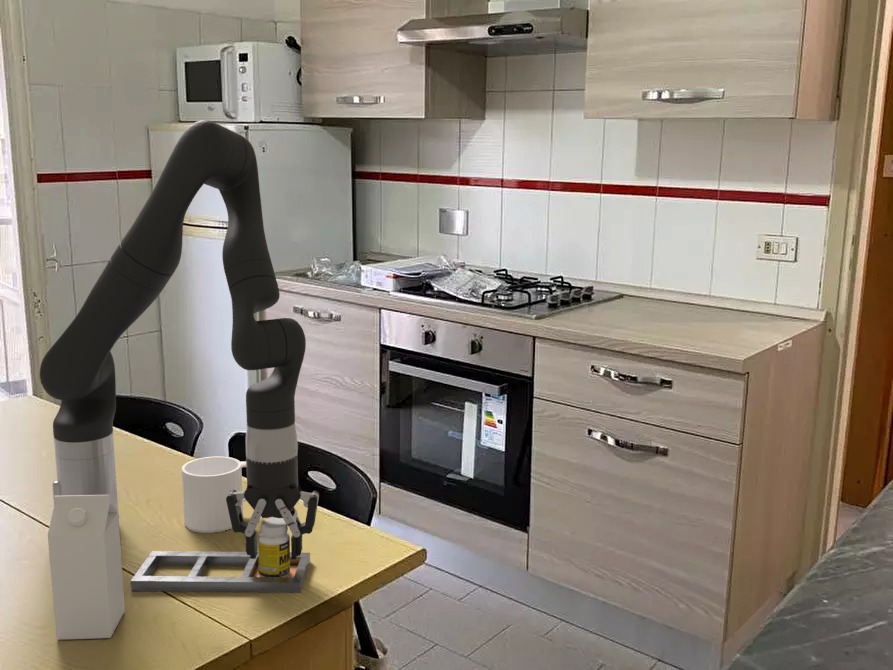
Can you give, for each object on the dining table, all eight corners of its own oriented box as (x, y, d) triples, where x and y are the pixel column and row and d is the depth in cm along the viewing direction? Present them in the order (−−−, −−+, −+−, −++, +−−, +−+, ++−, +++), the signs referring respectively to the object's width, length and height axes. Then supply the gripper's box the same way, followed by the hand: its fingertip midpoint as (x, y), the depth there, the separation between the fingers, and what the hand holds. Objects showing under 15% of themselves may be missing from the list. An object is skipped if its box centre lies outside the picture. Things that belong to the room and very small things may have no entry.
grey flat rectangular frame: (131, 590, 133) (130, 580, 133) (152, 560, 143) (152, 551, 143) (300, 592, 133) (300, 582, 133) (310, 562, 143) (310, 552, 143)
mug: (194, 538, 151) (191, 480, 149) (177, 517, 160) (174, 462, 158) (265, 522, 158) (264, 467, 156) (245, 503, 166) (243, 450, 164)
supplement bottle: (283, 583, 136) (282, 531, 134) (253, 579, 136) (252, 527, 135) (294, 569, 140) (294, 518, 138) (266, 565, 141) (265, 515, 139)
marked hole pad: (251, 585, 135) (251, 584, 135) (259, 567, 141) (259, 565, 141) (292, 586, 135) (292, 584, 135) (298, 567, 141) (298, 565, 141)
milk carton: (73, 613, 127) (63, 486, 123) (125, 612, 127) (116, 485, 123) (56, 641, 120) (44, 506, 116) (111, 639, 120) (101, 505, 116)
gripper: (217, 459, 130) (221, 567, 134) (316, 461, 131) (318, 568, 134) (229, 443, 138) (233, 545, 141) (323, 444, 138) (325, 546, 141)
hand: (274, 556), depth 138 cm, fingers open, 5 cm apart
